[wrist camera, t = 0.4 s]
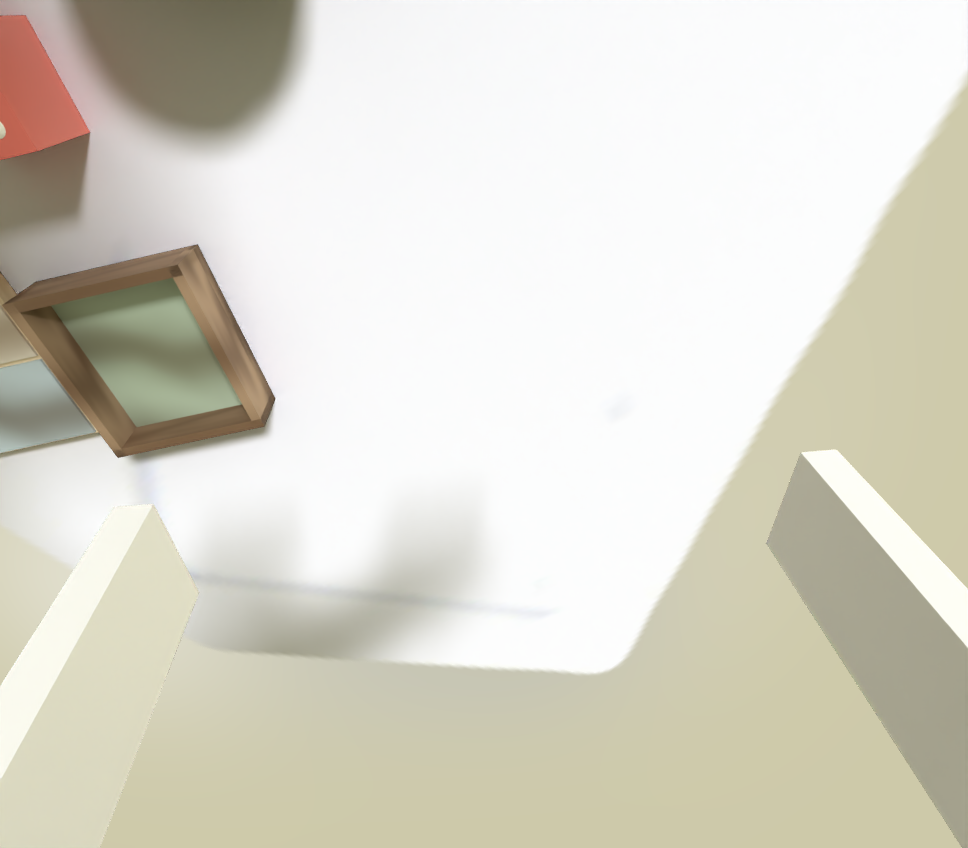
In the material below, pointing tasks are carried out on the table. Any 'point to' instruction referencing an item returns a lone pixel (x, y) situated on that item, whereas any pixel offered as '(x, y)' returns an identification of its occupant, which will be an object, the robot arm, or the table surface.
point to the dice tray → (147, 351)
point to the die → (31, 94)
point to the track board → (31, 392)
